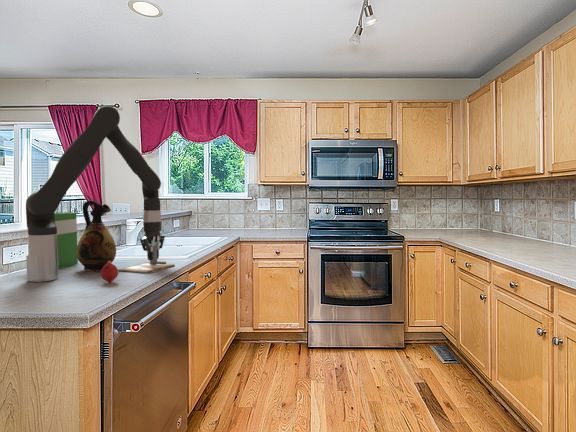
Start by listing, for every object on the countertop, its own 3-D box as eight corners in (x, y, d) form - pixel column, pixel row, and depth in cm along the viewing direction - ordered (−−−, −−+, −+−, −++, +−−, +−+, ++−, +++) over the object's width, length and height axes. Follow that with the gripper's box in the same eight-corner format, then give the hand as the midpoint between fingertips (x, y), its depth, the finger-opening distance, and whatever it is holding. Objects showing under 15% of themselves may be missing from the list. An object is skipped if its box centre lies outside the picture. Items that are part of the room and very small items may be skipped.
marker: (154, 264, 168) (153, 242, 168) (147, 264, 169) (147, 242, 169) (159, 263, 171) (158, 241, 171) (153, 263, 173) (152, 241, 172)
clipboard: (147, 273, 156) (147, 269, 156) (118, 271, 161) (118, 266, 161) (174, 266, 173) (174, 262, 173) (147, 264, 178) (147, 260, 178)
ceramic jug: (124, 266, 172) (122, 199, 170) (101, 273, 157) (99, 200, 155) (90, 265, 175) (88, 199, 173) (65, 272, 160) (62, 200, 158)
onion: (109, 285, 136) (108, 262, 136) (97, 283, 138) (96, 261, 138) (121, 281, 142) (121, 260, 141) (109, 280, 144) (109, 259, 143)
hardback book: (54, 270, 164) (52, 214, 162) (37, 270, 164) (35, 214, 163) (77, 263, 181) (76, 212, 180) (62, 263, 181) (60, 212, 180)
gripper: (156, 219, 177) (157, 256, 178) (134, 221, 164) (135, 261, 165) (169, 219, 175) (170, 257, 176) (148, 221, 161) (149, 262, 162)
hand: (153, 259), depth 170 cm, fingers closed on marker, 3 cm apart
